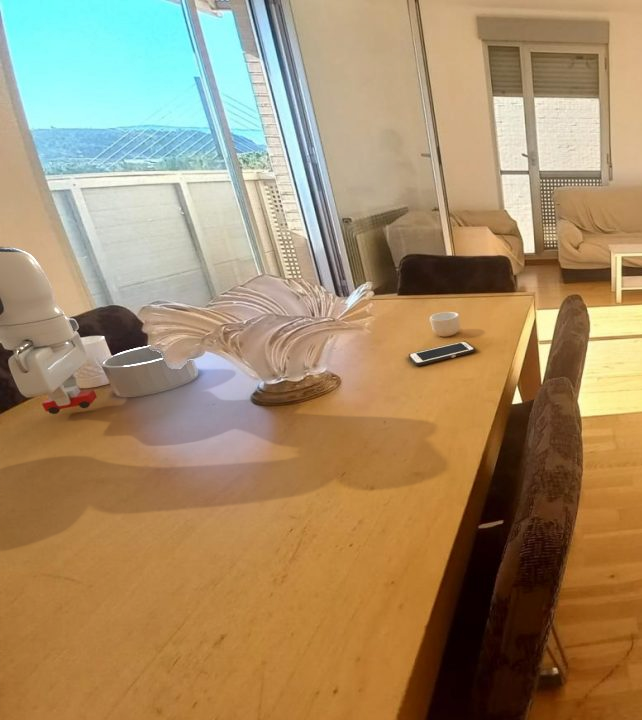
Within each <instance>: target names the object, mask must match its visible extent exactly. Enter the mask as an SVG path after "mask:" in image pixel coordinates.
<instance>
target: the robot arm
mask: <svg viewBox="0 0 642 720" xmlns="http://www.w3.org/2000/svg"><path fill="white" fill-rule="evenodd" d="M79 328H80V327H79V323H78V322H77V320H76V319H75V318H71V317H67V316H66V314H65V312H64V309H62V308H61V307H60V306H59V305H58V303H57V302H56V299H55V291H54V288H53V287H52V285H51V282H50V280H49V279H48V277H47V275H46V273H45V271H44V270H43V268H42V266H41V265H40V263H39V262H38V260H37V259H35V257H34V256H33V255H31V254H30V253H28V252H27V251H25V250H21V249H19V248H14V247H9V246H8V247H7V246H0V344H1V346H2V347H3V349H5V350H7V351H13V355H11V356H10V357H9V358H8V367H9V370H10V373H11V376H12V377H13V381H14V383H15V385H16V387H17V389H18V391H19V392H20V394H21V395H22V396H24V397H25V398H36V397H42V396H48V395H49V396H50V397H52V398H53V399H54V401H55V403H56V404H57V405H58V406H64V405H69V404H70V403H71V402H72V398H71V396H70V394H67V393H66V392H65V390H64V389H63V388H67V387H73V386H78V383H77V375H76V373H75V371H76V370H78V369H79V368H80V367H81V366H82V365H83V364H84V363H85V362H86V361H87V356H86V352H85V349H84V346H83V343H82V341H81V338H82V337H81V336H80V334H79V332H78V330H79ZM78 388H79V387H78ZM79 390H80V391H81V388H79Z"/></svg>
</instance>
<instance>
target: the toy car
mask: <svg viewBox="0 0 642 720" xmlns="http://www.w3.org/2000/svg"><path fill="white" fill-rule="evenodd" d="M63 389H64V390H65V392H66V393H67V394H70V396H71V398H72V402H71V403H70V404H69V405H64V406H58V405H57V404H56V403H55V401H54V399H53V398H52V397H50V396H49V395H48V394H47V398H46V399H45V400H44V401H43V402H42V403H41V405H42V407H43V410H44V411H45V412H48V413H49V414H51V415H56V414H58V413H59V412H60V411H61V410H62V409H69V408H73V407H78V406H79V407H80V408H82V409H88V408H89V407H90V406H91V404H93V402H95V400H96V399H97V398H98V397H97V394H96V392H95V390H94V389H88V390H82V391H81V389H80V388H78V386H73V387H67V388H63ZM79 389H80V390H79Z"/></svg>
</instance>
